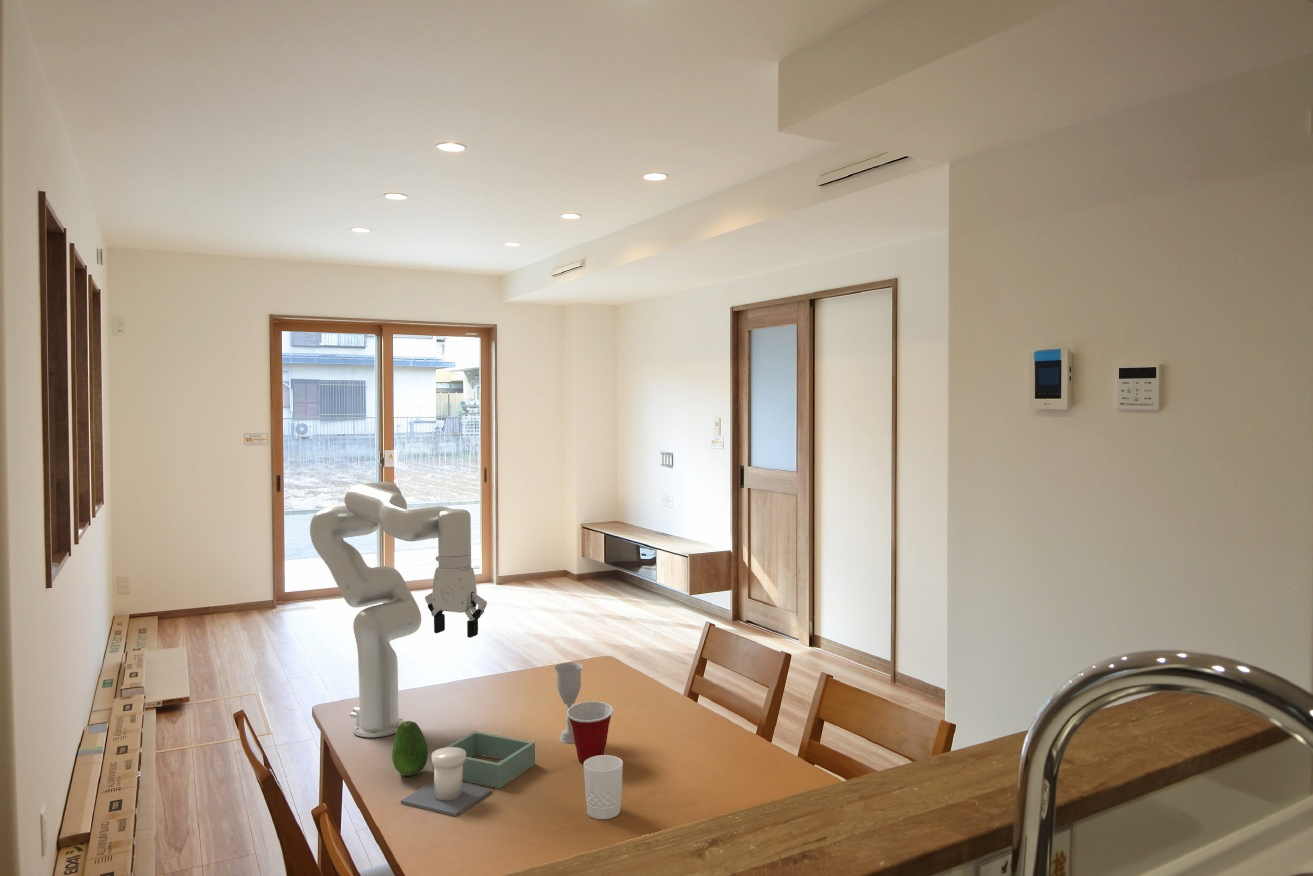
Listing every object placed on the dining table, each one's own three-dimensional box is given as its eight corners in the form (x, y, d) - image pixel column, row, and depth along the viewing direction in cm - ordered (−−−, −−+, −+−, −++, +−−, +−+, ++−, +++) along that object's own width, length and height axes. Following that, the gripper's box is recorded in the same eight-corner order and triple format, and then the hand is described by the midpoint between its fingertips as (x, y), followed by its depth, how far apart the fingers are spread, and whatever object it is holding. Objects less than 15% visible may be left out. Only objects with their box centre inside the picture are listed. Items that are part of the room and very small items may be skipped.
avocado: (390, 771, 191) (389, 718, 190) (426, 765, 194) (425, 713, 193) (394, 785, 183) (393, 730, 183) (431, 779, 186) (430, 725, 186)
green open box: (435, 774, 188) (435, 752, 188) (474, 752, 201) (474, 731, 201) (499, 788, 181) (498, 765, 181) (535, 764, 194) (535, 742, 194)
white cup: (584, 803, 174) (583, 755, 174) (622, 802, 175) (622, 754, 174) (584, 822, 166) (583, 772, 166) (624, 820, 167) (623, 770, 167)
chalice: (578, 746, 204) (577, 672, 204) (551, 744, 206) (550, 670, 205) (587, 734, 212) (586, 663, 211) (561, 732, 213) (560, 661, 212)
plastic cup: (558, 766, 193) (558, 714, 192) (579, 748, 203) (578, 699, 202) (602, 773, 189) (602, 719, 189) (621, 754, 199) (620, 704, 199)
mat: (400, 803, 175) (400, 800, 175) (439, 780, 186) (438, 777, 186) (455, 816, 169) (455, 813, 169) (491, 792, 180) (491, 789, 180)
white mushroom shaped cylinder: (423, 796, 176) (424, 755, 176) (447, 784, 182) (447, 744, 182) (449, 805, 172) (449, 763, 172) (472, 792, 179) (473, 751, 178)
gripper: (415, 562, 200) (416, 634, 200) (474, 567, 192) (475, 642, 193) (436, 557, 207) (437, 626, 207) (494, 562, 199) (495, 634, 200)
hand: (455, 634), depth 200 cm, fingers open, 9 cm apart
